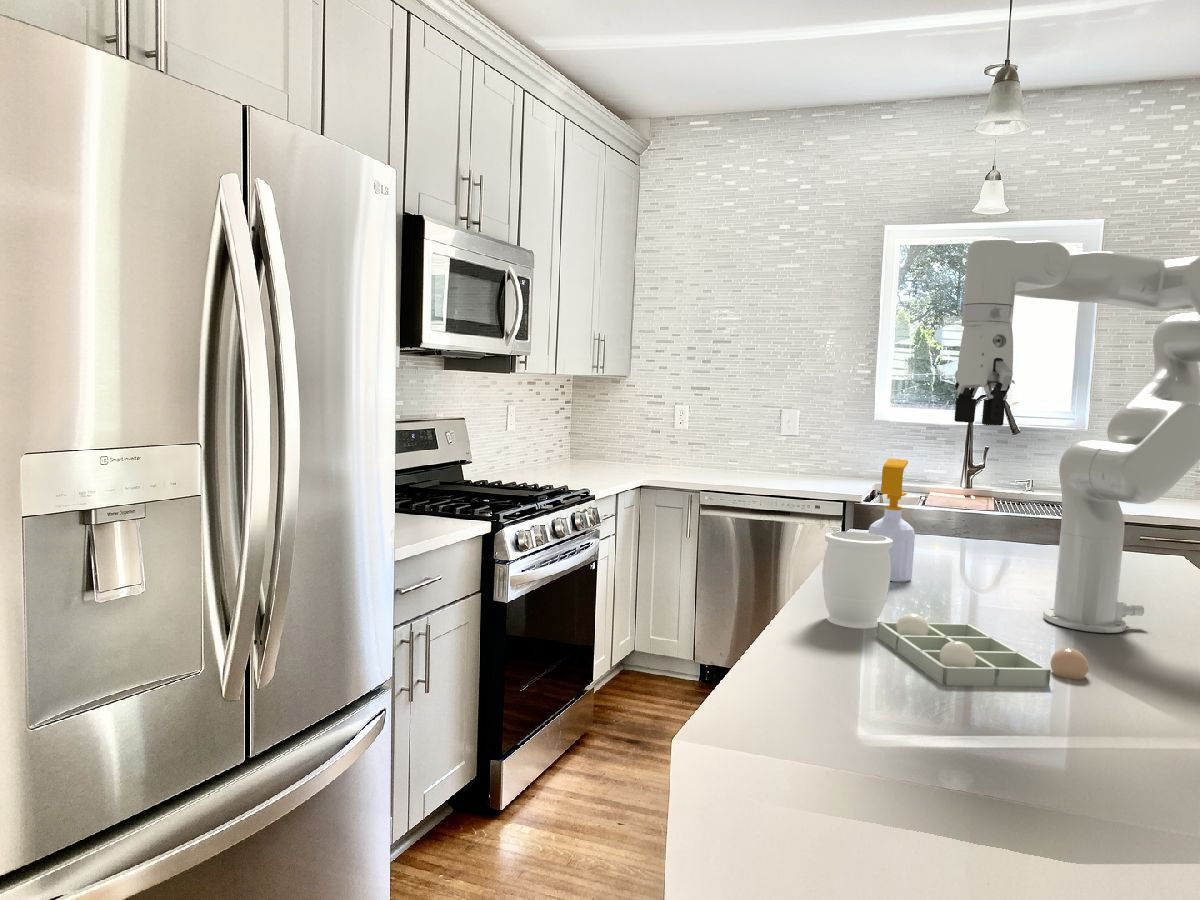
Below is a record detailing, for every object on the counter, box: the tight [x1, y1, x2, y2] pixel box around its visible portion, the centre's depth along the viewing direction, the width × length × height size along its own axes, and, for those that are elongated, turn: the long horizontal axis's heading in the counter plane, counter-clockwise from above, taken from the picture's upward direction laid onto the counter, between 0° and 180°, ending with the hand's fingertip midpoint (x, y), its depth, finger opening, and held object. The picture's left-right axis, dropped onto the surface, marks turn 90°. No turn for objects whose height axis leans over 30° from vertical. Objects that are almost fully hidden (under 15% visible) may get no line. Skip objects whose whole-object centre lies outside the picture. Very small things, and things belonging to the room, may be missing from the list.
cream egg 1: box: [896, 612, 929, 636], centre depth 133 cm, size 5×5×5 cm
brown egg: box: [1049, 647, 1089, 680], centre depth 122 cm, size 5×5×5 cm
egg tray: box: [876, 621, 1052, 688], centre depth 127 cm, size 15×22×3 cm
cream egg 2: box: [939, 641, 976, 667], centre depth 119 cm, size 5×5×5 cm
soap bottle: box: [868, 458, 916, 583], centre depth 184 cm, size 9×9×25 cm
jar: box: [821, 531, 893, 629], centre depth 144 cm, size 11×10×15 cm
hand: (977, 423), depth 145 cm, fingers open, 9 cm apart
